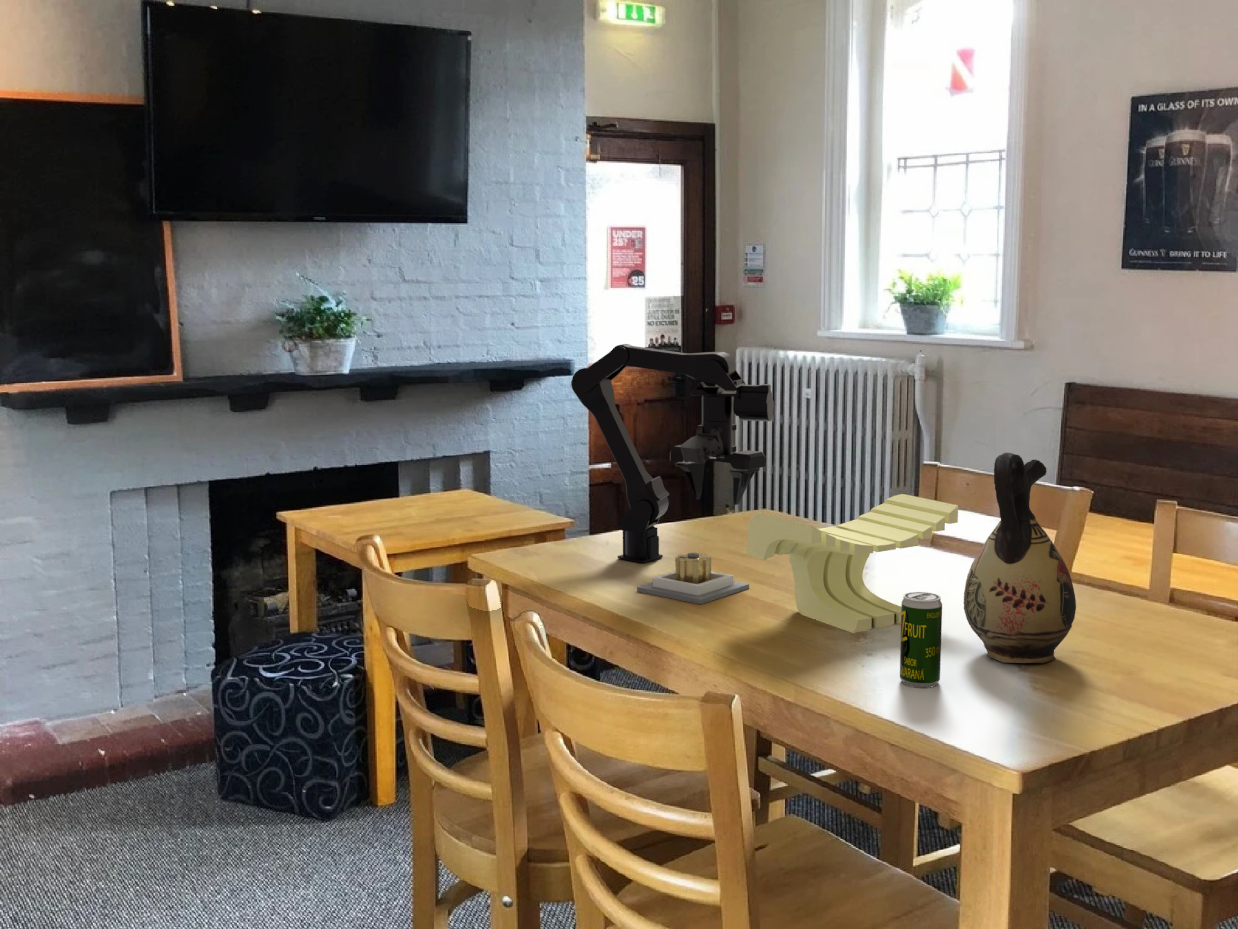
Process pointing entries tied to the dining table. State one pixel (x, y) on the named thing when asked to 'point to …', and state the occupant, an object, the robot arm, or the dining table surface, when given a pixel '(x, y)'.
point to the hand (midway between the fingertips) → (716, 501)
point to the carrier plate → (693, 588)
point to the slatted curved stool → (847, 557)
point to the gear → (693, 568)
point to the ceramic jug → (1019, 576)
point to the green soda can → (920, 639)
